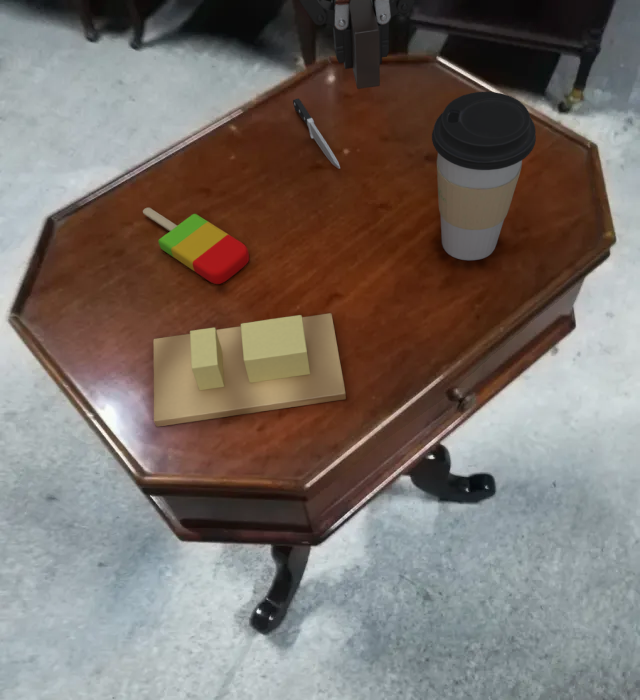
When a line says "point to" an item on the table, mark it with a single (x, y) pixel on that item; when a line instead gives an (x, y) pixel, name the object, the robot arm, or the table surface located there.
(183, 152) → the table surface
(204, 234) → the popsicle
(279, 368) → the butter stick
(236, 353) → the board
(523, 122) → the coffee cup
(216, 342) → the butter pat
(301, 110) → the knife
